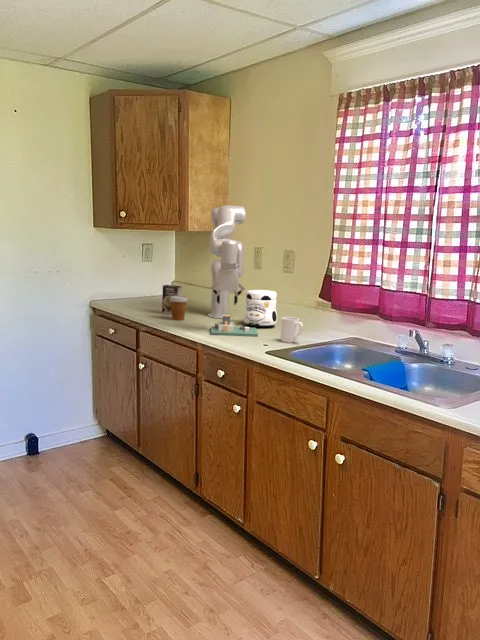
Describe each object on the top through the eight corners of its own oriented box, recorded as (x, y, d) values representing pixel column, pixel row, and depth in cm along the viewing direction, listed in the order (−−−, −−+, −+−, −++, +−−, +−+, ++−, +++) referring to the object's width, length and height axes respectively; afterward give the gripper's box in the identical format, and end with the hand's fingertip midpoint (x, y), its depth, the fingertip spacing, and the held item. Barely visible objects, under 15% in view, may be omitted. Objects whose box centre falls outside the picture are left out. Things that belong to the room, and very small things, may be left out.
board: (211, 328, 278) (211, 320, 278) (255, 330, 279) (256, 321, 279) (210, 334, 263) (211, 326, 262) (257, 336, 263) (258, 327, 263)
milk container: (247, 329, 281) (248, 293, 278) (240, 322, 298) (241, 289, 295) (280, 329, 285) (282, 294, 281) (272, 323, 301) (273, 289, 298)
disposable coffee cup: (171, 321, 293) (172, 298, 291) (167, 318, 302) (167, 295, 300) (189, 320, 297) (190, 298, 295) (184, 317, 305) (184, 295, 303)
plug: (222, 328, 273) (222, 314, 272) (229, 328, 273) (229, 314, 272) (222, 330, 267) (222, 316, 266) (229, 331, 268) (230, 316, 266)
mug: (276, 340, 258) (278, 317, 256) (290, 338, 262) (291, 316, 261) (294, 345, 248) (295, 321, 246) (307, 343, 253) (309, 320, 251)
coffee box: (161, 314, 313) (162, 285, 310) (165, 312, 319) (166, 284, 316) (176, 315, 311) (177, 286, 308) (180, 314, 317) (181, 285, 314)
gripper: (246, 267, 269) (244, 303, 272) (210, 265, 269) (208, 302, 272) (247, 268, 262) (245, 306, 265) (209, 266, 261) (208, 304, 264)
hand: (226, 303), depth 268 cm, fingers open, 7 cm apart
